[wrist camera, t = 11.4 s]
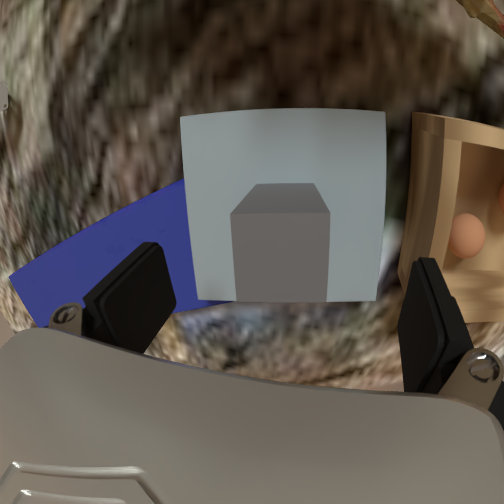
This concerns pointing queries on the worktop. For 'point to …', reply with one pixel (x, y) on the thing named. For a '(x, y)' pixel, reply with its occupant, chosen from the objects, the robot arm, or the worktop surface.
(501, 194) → the rust ball
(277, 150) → the lid
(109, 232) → the long blue plank
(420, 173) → the pine box
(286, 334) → the worktop surface
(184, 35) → the worktop surface
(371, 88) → the worktop surface
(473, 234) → the rust ball
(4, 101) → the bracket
